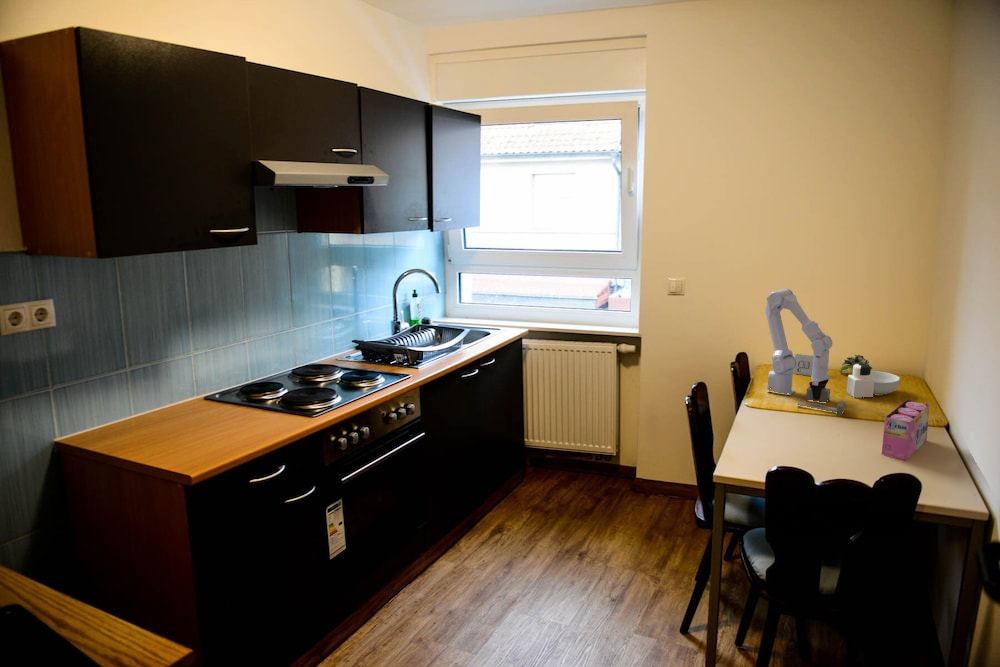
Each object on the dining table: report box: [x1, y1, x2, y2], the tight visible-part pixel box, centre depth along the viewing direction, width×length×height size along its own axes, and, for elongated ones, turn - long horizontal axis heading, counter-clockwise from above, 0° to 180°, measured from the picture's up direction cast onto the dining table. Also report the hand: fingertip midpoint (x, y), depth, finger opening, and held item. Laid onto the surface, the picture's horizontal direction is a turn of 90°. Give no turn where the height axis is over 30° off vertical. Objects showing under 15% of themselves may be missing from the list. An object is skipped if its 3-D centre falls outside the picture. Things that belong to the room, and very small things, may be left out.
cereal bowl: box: [870, 370, 901, 396], centre depth 299 cm, size 17×17×7 cm
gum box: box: [881, 399, 931, 461], centre depth 243 cm, size 24×8×14 cm, turn 135°
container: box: [846, 364, 874, 399], centre depth 295 cm, size 8×8×13 cm
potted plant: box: [838, 354, 873, 375], centre depth 323 cm, size 11×11×12 cm
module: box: [805, 385, 831, 404], centre depth 291 cm, size 8×5×6 cm, turn 54°
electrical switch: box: [793, 353, 813, 377], centre depth 327 cm, size 9×5×9 cm, turn 53°
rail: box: [797, 400, 846, 417], centre depth 281 cm, size 16×7×4 cm, turn 54°
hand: (817, 397), depth 292 cm, fingers closed on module, 5 cm apart
